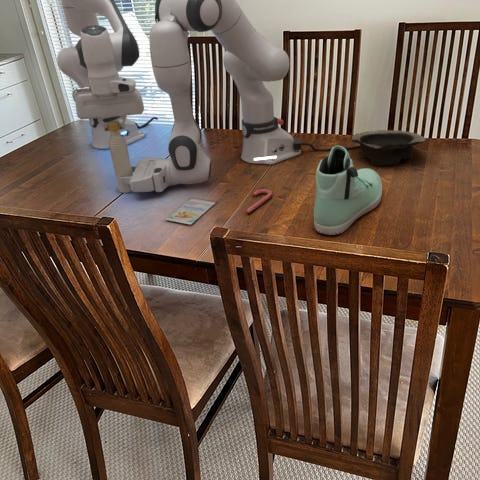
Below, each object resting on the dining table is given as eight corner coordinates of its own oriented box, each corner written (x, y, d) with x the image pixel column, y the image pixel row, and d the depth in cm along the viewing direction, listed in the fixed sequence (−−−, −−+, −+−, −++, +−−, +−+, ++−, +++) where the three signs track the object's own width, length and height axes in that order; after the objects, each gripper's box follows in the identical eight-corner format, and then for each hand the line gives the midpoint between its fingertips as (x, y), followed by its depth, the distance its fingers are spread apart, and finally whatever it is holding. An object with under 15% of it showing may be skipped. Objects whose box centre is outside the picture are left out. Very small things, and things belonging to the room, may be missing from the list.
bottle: (119, 186, 164) (105, 122, 152) (136, 184, 164) (123, 120, 152) (118, 193, 159) (103, 127, 147) (134, 191, 159) (121, 125, 147)
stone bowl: (384, 176, 155) (384, 148, 151) (336, 158, 175) (335, 133, 171) (440, 157, 164) (442, 130, 159) (388, 142, 184) (389, 118, 180)
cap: (108, 132, 149) (106, 125, 147) (108, 128, 152) (106, 121, 151) (120, 130, 149) (119, 123, 148) (120, 127, 153) (119, 119, 151)
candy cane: (232, 210, 143) (232, 206, 142) (259, 190, 153) (259, 186, 152) (249, 215, 140) (248, 210, 139) (276, 194, 150) (275, 190, 149)
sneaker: (389, 187, 148) (396, 123, 138) (356, 242, 123) (361, 168, 112) (346, 181, 154) (350, 119, 144) (306, 232, 129) (307, 161, 118)
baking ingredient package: (164, 218, 140) (191, 197, 151) (165, 220, 140) (191, 199, 151) (190, 223, 136) (215, 201, 148) (190, 225, 136) (216, 203, 148)
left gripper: (68, 91, 141) (79, 136, 148) (137, 85, 141) (145, 130, 148) (73, 85, 146) (83, 129, 153) (140, 80, 146) (147, 124, 154)
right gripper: (165, 151, 165) (125, 154, 166) (157, 176, 148) (112, 178, 148) (168, 168, 169) (129, 171, 169) (160, 194, 151) (116, 197, 152)
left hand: (114, 130), depth 151 cm, fingers closed on cap, 4 cm apart
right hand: (121, 175), depth 159 cm, fingers closed on bottle, 5 cm apart
